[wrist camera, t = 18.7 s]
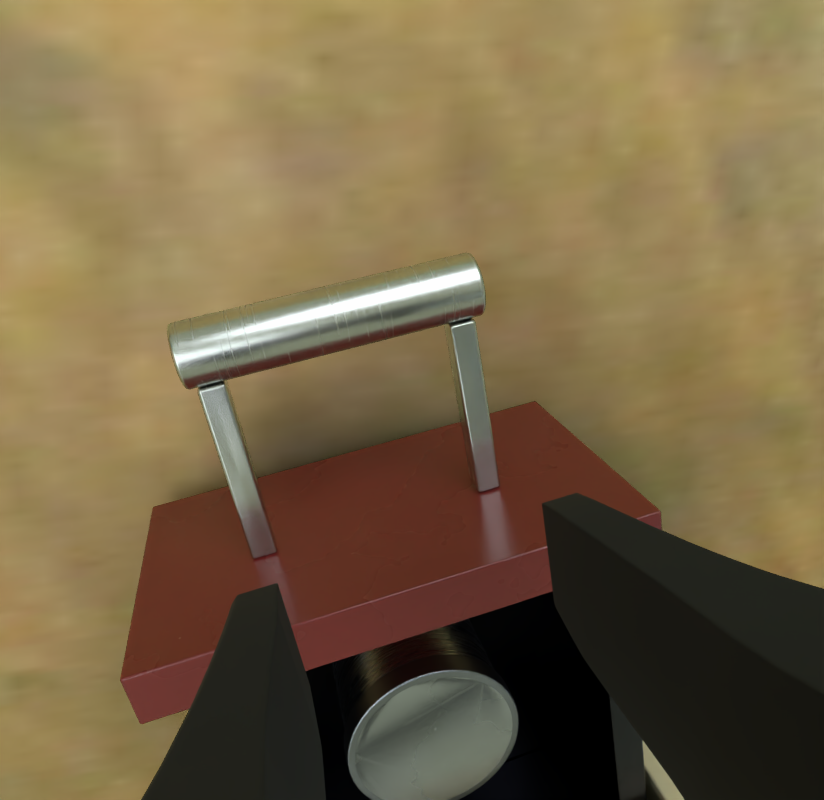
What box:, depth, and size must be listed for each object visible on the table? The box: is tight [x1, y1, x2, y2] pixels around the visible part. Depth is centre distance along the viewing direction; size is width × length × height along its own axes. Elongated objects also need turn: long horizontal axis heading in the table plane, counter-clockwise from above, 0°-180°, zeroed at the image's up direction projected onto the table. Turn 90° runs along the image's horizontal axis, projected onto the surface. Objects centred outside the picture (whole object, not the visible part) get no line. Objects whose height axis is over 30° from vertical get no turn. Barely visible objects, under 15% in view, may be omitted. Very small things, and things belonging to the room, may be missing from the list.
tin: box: [331, 619, 519, 800], centre depth 20 cm, size 4×4×5 cm
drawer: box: [120, 253, 662, 800], centre depth 19 cm, size 19×11×7 cm, turn 11°
